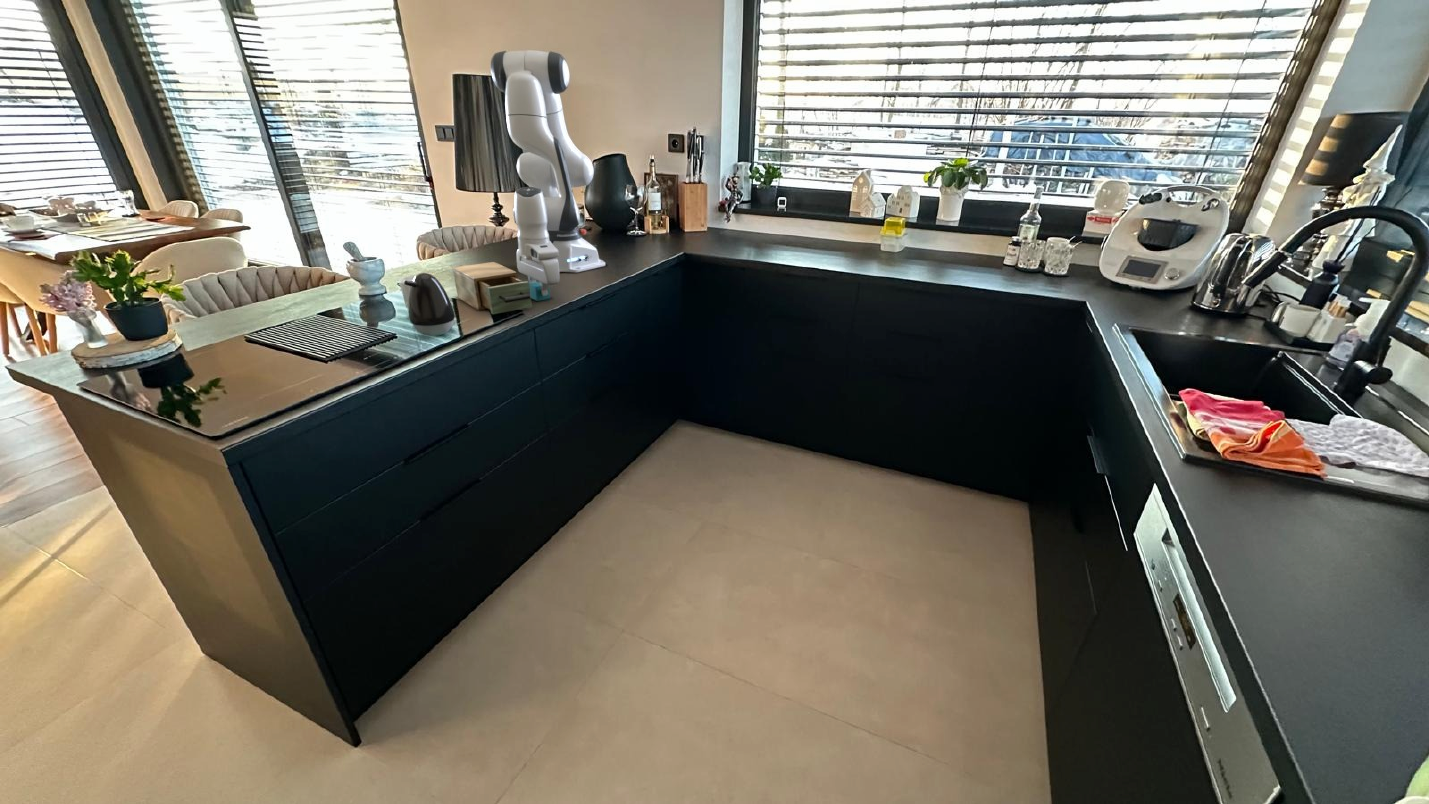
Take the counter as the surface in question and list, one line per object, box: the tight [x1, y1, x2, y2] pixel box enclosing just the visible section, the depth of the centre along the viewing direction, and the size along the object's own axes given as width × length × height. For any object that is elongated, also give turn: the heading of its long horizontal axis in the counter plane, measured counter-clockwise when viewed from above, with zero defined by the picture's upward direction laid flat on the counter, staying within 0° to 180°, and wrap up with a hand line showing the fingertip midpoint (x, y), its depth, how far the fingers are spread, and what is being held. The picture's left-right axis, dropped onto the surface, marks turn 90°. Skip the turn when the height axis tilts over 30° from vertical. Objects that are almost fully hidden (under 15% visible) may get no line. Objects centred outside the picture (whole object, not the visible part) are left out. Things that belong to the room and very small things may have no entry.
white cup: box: [398, 275, 416, 314], centre depth 149 cm, size 8×8×10 cm
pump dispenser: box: [404, 272, 456, 337], centre depth 137 cm, size 10×10×15 cm
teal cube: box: [529, 281, 551, 302], centre depth 169 cm, size 4×4×4 cm
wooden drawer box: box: [452, 261, 519, 311], centre depth 165 cm, size 16×13×9 cm
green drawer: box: [477, 276, 533, 315], centre depth 157 cm, size 19×11×7 cm, turn 43°
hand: (539, 292), depth 169 cm, fingers closed on teal cube, 4 cm apart
